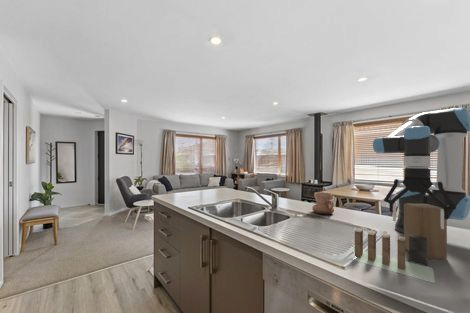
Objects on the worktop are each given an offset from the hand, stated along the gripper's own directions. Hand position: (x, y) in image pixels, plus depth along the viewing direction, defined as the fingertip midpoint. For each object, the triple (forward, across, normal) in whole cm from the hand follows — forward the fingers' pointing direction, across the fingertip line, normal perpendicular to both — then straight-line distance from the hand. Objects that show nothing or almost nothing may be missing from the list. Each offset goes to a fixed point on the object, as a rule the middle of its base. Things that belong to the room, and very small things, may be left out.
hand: (417, 224), depth 79 cm
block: (+15, +2, +12) cm, 19 cm away
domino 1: (+14, -13, -8) cm, 21 cm away
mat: (+15, -9, -8) cm, 19 cm away
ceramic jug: (+15, -51, +52) cm, 74 cm away
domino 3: (+14, -4, -8) cm, 17 cm away
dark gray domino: (+15, 0, 0) cm, 15 cm away
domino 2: (+14, -9, -8) cm, 19 cm away
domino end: (+14, -18, -8) cm, 24 cm away
